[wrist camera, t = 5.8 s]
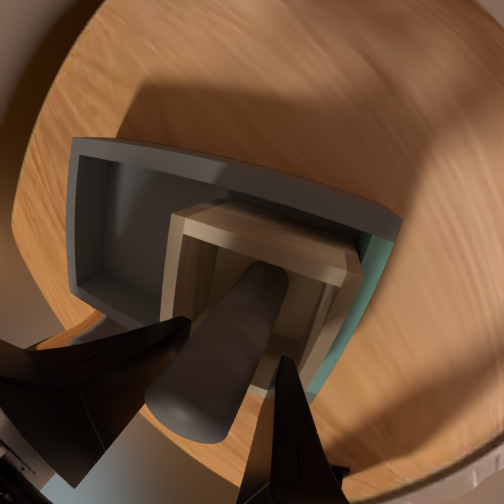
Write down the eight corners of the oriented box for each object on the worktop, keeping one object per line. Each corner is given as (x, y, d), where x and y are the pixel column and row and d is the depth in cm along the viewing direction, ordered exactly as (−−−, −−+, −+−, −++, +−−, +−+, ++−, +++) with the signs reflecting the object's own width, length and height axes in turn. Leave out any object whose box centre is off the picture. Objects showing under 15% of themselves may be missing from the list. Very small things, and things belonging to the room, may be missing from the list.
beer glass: (94, 282, 21) (-39, 366, 7) (155, 308, 20) (8, 438, 6) (104, 342, 23) (3, 428, 10) (159, 370, 22) (59, 486, 8)
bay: (383, 206, 13) (402, 219, 9) (316, 361, 17) (310, 404, 13) (114, 137, 16) (72, 137, 13) (103, 273, 20) (69, 291, 17)
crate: (352, 238, 13) (385, 377, 4) (307, 346, 15) (271, 494, 7) (222, 197, 14) (70, 251, 5) (200, 306, 17) (100, 415, 8)
